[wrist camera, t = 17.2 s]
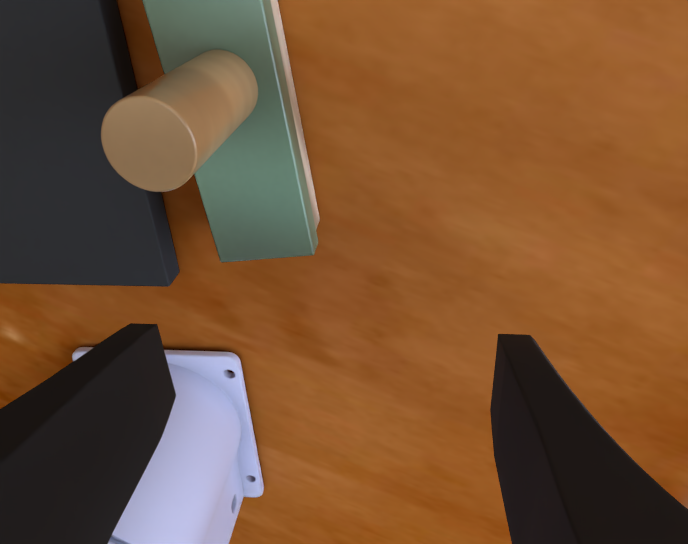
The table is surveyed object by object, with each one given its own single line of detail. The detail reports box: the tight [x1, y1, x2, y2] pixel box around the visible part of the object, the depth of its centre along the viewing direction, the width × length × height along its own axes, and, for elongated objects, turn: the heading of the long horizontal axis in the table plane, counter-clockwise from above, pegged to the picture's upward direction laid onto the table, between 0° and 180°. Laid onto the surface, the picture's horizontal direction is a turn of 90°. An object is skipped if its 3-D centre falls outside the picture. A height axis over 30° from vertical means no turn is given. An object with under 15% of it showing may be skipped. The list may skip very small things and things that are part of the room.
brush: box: [101, 0, 320, 262], centre depth 16 cm, size 12×4×8 cm, turn 9°
